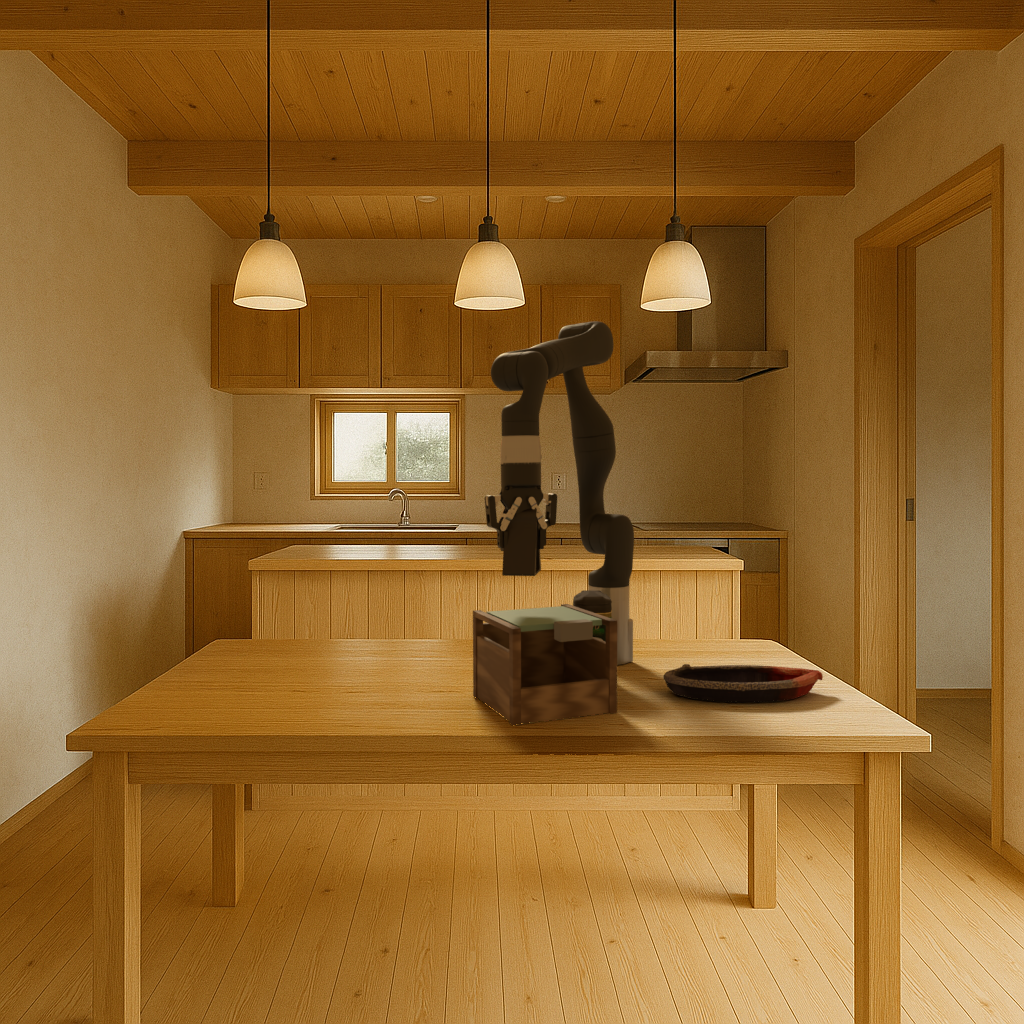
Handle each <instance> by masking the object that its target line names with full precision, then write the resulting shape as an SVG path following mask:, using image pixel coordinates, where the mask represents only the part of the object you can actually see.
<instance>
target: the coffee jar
mask: <svg viewBox="0 0 1024 1024" xmlns="http://www.w3.org/2000/svg"><path fill="white" fill-rule="evenodd" d="M572 600H573V601H572V606H575V607H578V608H581V609H584V610H587V611H590V612H593V613H596V614H599V615H602V616H605V617H608V618H611V619H612V606H611V603H612V601H611V599H610V597H609V596H608V595H606V594H604V593H602V592H601V591H598V590H588V589H587V590H581V591H580V592H579V593H577V594H575V595H574V596H573V599H572ZM593 637H595V638H597V639H600V640H602V641H605V642H606V625H603V624H602V625H597V626H593Z"/></svg>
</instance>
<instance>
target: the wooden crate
mask: <svg viewBox="0 0 1024 1024" xmlns="http://www.w3.org/2000/svg"><path fill="white" fill-rule="evenodd" d="M560 606H564V607H567V608H570V609H573V610H576V611H579V612H581V613H584V614H587V615H590V616H593V617H596V618H599V619H602V624H603V625H606V642H605V641H602V640H600V639H597V638H595V637H593V639H589V640H577V641H566V642H559V641H557V640H555V639H554V629H549V630H537V631H524V632H521V628H519V627H517V626H514V625H512V624H510V623H508V622H505V621H503V620H501V619H499V618H497V617H494V616H492V615H490V614H488V613H486V612H485V611H484V610H481V609H478V610H472V664H473V665H472V677H473V678H472V683H473V685H472V689H473V691H472V692H473V693H472V695H473V696H474V697H473V698H475V697H476V698H475V699H477V698H479V699H480V700H481V701H483V702H484V703H486V704H487V705H488V706H490V707H491V708H493V709H494V710H495V711H497V712H498V713H500V714H501V715H502V716H504V717H505V718H506V719H507V720H509V721H510V722H509V724H510V723H511V724H512V725H516V724H521V723H529V722H537V723H539V722H538V721H544V722H550V721H549V720H552V721H557V720H556V719H560V720H564V719H563V718H568V719H573V718H572V717H576V718H580V717H579V716H584V717H588V716H587V715H591V716H596V715H595V714H599V715H604V714H603V713H607V714H609V713H611V714H616V712H617V713H618V665H617V620H614V619H611V618H608V617H605V616H602V615H599V614H596V613H593V612H590V611H587V610H584V609H581V608H578V607H575V606H573V604H572V605H571V604H568V603H562V604H560ZM479 699H478V700H479ZM480 700H479V701H480ZM481 701H480V702H481ZM483 702H482V703H483ZM484 703H483V704H484ZM486 704H485V705H486ZM487 705H486V706H487ZM488 706H487V707H488ZM490 707H489V708H490ZM491 708H490V709H491ZM494 710H493V711H494ZM495 711H494V712H495ZM498 713H497V714H498ZM502 716H501V717H502ZM506 719H505V720H506ZM507 720H506V721H507ZM511 724H510V725H511ZM529 724H530V723H529ZM512 725H511V726H512ZM521 725H522V724H521Z"/></svg>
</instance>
